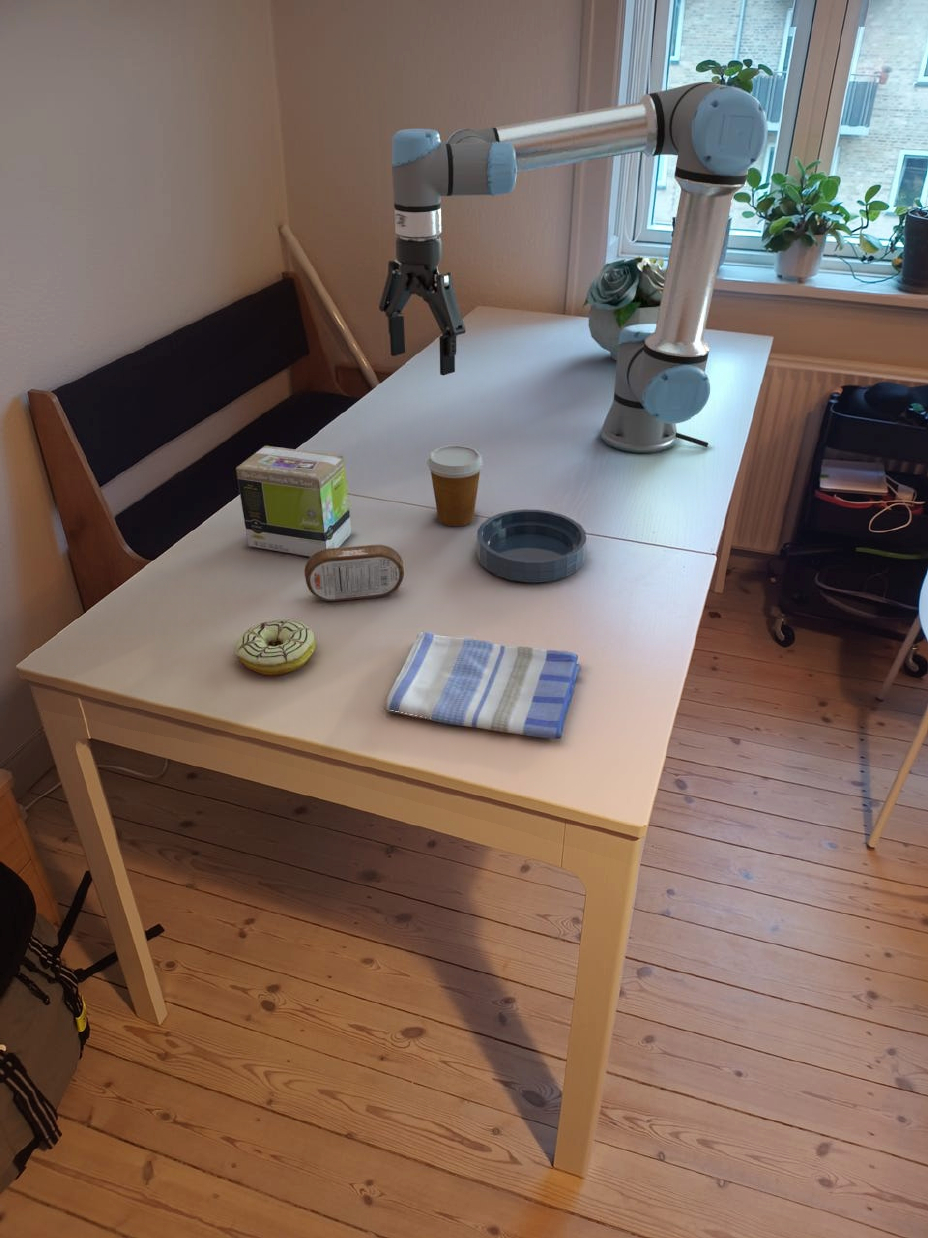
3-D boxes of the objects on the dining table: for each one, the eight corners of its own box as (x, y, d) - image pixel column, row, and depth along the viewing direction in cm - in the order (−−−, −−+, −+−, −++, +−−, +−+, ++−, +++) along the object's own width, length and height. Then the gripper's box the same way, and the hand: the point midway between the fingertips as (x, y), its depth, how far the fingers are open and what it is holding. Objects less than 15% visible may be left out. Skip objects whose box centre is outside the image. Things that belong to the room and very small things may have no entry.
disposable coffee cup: (477, 533, 161) (477, 469, 155) (423, 528, 163) (421, 464, 156) (487, 508, 169) (487, 446, 162) (435, 503, 171) (434, 441, 164)
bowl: (581, 531, 162) (582, 510, 159) (587, 586, 147) (589, 563, 145) (478, 530, 162) (478, 508, 160) (475, 584, 148) (475, 561, 145)
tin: (403, 586, 147) (401, 539, 143) (406, 597, 145) (404, 549, 140) (307, 595, 145) (301, 548, 141) (307, 607, 143) (302, 559, 138)
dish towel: (419, 640, 135) (419, 624, 134) (582, 665, 130) (583, 649, 129) (379, 715, 121) (378, 699, 120) (560, 747, 116) (561, 729, 115)
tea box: (353, 533, 161) (346, 454, 153) (327, 562, 154) (318, 479, 145) (275, 520, 165) (264, 442, 157) (246, 547, 158) (233, 466, 149)
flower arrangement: (687, 375, 225) (701, 269, 211) (583, 375, 225) (590, 269, 212) (670, 342, 245) (682, 243, 232) (574, 342, 246) (580, 244, 232)
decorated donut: (261, 630, 138) (258, 608, 136) (328, 643, 135) (325, 621, 133) (224, 671, 130) (220, 648, 127) (294, 686, 127) (291, 663, 125)
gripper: (354, 227, 159) (362, 350, 171) (451, 253, 144) (452, 387, 156) (389, 220, 163) (394, 341, 175) (487, 245, 148) (486, 376, 160)
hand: (422, 363), depth 165 cm, fingers open, 13 cm apart
